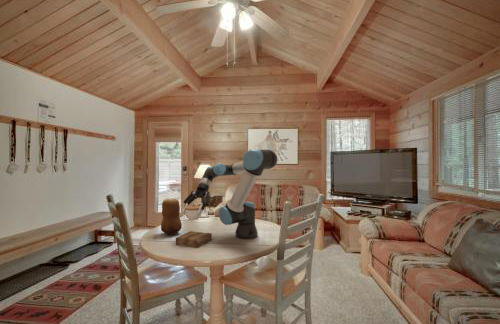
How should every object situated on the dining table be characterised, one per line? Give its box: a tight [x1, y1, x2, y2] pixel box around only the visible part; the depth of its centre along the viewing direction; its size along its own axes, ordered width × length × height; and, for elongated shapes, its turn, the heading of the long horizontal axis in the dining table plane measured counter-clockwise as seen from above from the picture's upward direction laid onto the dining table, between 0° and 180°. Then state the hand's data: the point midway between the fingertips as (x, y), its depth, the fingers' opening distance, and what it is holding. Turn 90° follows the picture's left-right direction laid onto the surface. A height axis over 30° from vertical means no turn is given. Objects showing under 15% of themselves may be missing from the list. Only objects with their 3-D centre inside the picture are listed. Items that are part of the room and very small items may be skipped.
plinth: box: [175, 230, 213, 249], centre depth 162 cm, size 16×16×4 cm
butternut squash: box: [160, 198, 183, 236], centre depth 179 cm, size 14×13×25 cm
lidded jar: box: [185, 203, 203, 221], centre depth 165 cm, size 11×11×9 cm
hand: (191, 213), depth 163 cm, fingers closed on lidded jar, 11 cm apart
